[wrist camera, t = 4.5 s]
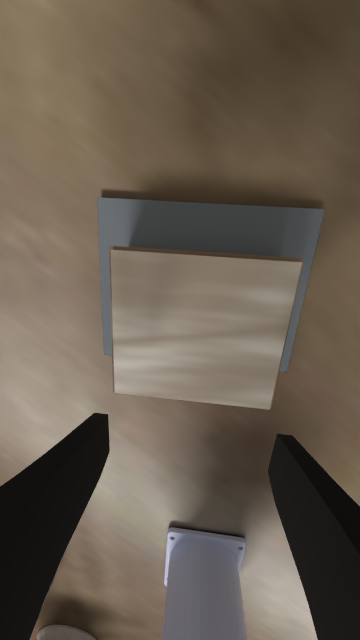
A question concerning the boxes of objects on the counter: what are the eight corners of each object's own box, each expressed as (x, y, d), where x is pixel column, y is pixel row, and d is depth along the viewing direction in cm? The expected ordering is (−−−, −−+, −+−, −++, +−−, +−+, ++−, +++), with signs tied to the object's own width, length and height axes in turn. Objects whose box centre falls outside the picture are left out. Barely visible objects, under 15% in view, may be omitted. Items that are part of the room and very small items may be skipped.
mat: (284, 368, 16) (286, 372, 16) (106, 351, 17) (103, 354, 17) (320, 211, 13) (324, 209, 13) (100, 199, 14) (97, 197, 14)
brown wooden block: (272, 412, 13) (307, 258, 10) (111, 395, 13) (106, 245, 11) (257, 380, 16) (280, 258, 14) (128, 367, 17) (128, 248, 14)
